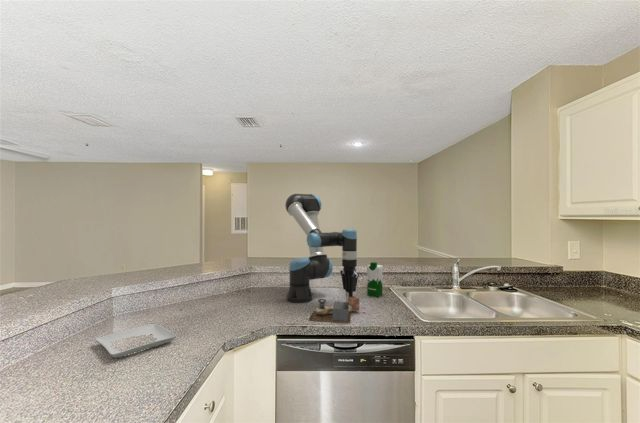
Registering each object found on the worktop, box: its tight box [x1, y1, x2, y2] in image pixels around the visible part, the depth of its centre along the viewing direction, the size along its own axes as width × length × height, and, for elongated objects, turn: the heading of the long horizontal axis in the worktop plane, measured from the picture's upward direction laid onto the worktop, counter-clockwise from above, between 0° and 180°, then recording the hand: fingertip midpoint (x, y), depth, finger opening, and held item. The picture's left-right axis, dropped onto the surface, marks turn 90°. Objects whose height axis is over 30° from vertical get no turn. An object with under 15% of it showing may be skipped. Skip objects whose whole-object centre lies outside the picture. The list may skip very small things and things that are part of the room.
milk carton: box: [366, 261, 384, 298], centre depth 178 cm, size 9×9×20 cm
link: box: [316, 295, 360, 315], centre depth 144 cm, size 22×5×6 cm, turn 108°
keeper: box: [308, 298, 352, 324], centre depth 138 cm, size 19×12×7 cm, turn 82°
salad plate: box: [95, 322, 178, 358], centre depth 109 cm, size 21×21×3 cm
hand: (349, 304), depth 150 cm, fingers closed
